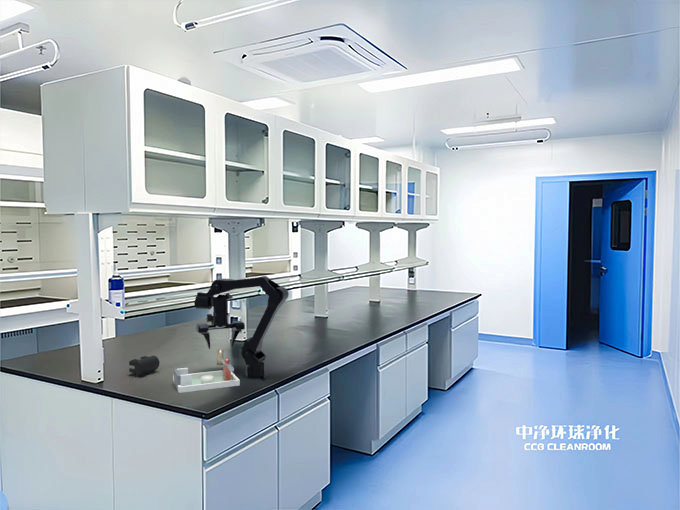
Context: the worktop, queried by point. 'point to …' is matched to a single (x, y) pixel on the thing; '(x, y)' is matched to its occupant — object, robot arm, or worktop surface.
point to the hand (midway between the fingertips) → (220, 347)
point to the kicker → (224, 365)
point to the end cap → (143, 365)
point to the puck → (206, 379)
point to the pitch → (193, 381)
